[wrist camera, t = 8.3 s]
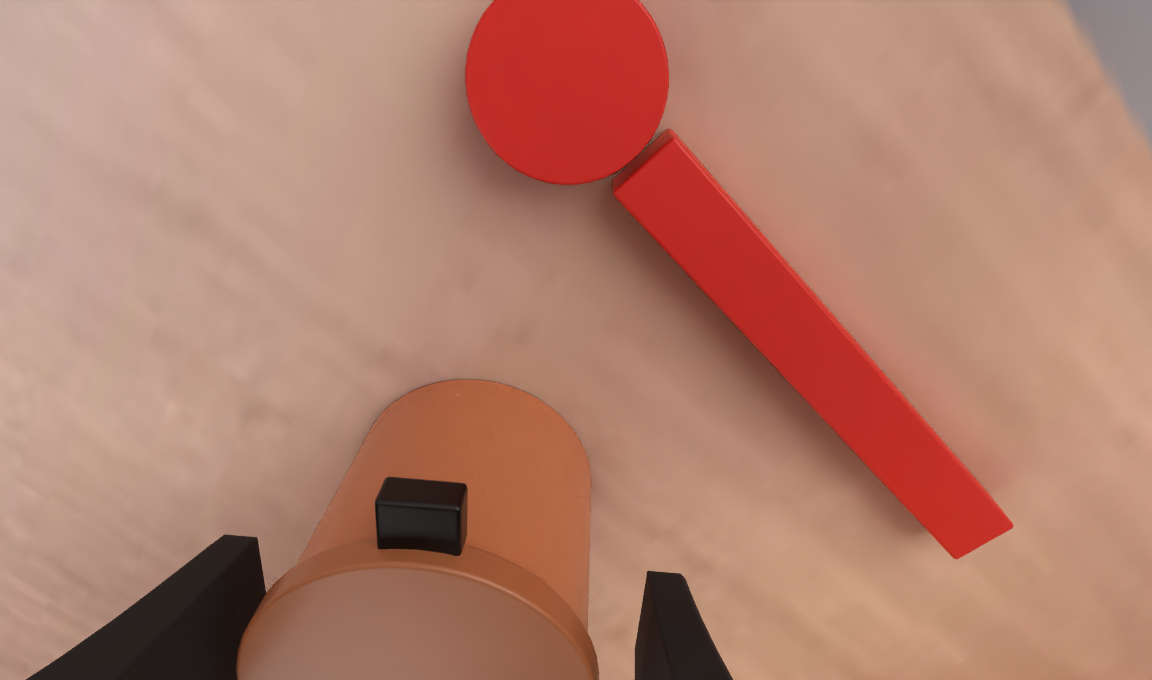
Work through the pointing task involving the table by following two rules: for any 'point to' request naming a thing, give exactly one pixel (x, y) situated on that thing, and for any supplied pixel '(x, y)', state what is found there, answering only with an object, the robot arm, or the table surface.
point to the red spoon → (701, 229)
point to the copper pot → (442, 552)
